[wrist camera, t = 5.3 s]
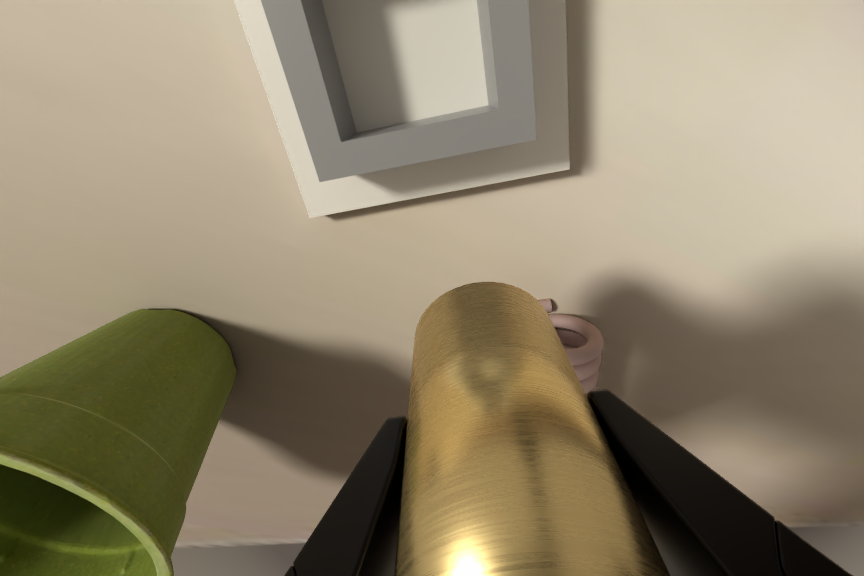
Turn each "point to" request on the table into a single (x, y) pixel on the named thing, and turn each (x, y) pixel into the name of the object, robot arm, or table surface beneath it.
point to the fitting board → (412, 94)
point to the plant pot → (108, 446)
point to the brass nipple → (509, 452)
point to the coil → (579, 345)
